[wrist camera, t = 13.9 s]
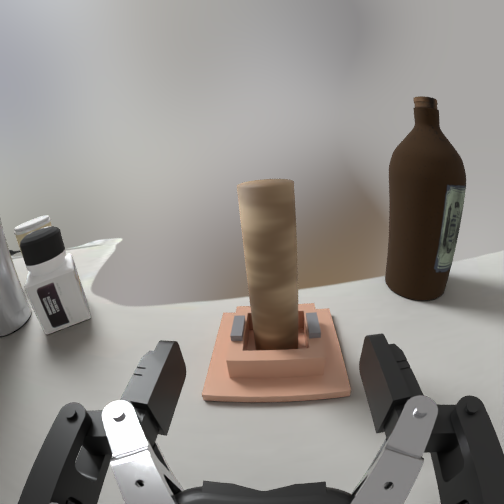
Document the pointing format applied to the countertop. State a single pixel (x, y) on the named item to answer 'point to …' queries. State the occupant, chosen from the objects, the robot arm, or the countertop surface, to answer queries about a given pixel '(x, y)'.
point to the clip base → (276, 362)
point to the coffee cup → (31, 227)
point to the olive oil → (424, 207)
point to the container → (53, 281)
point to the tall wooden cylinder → (271, 260)
